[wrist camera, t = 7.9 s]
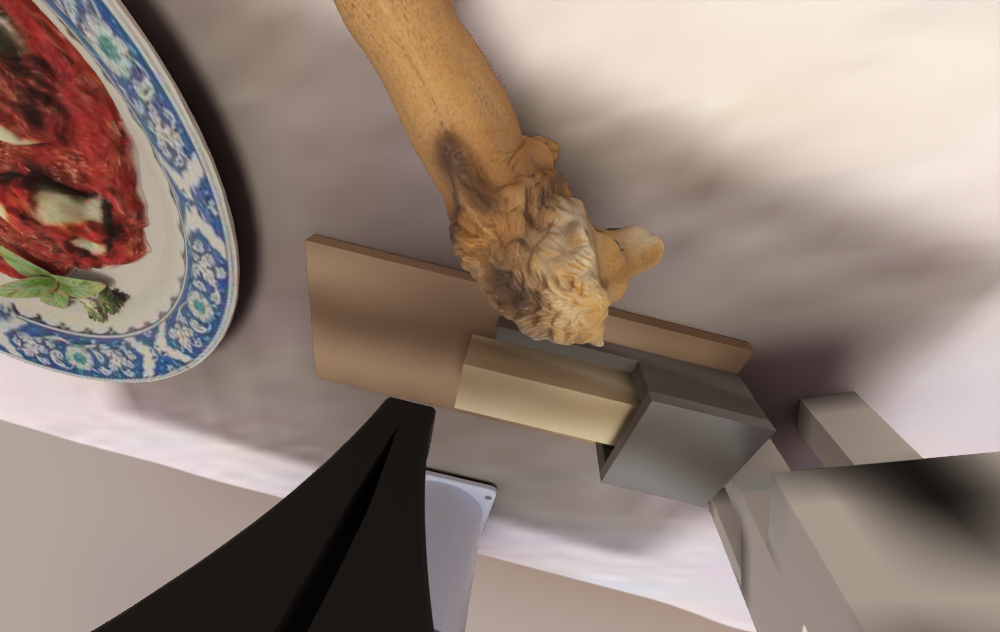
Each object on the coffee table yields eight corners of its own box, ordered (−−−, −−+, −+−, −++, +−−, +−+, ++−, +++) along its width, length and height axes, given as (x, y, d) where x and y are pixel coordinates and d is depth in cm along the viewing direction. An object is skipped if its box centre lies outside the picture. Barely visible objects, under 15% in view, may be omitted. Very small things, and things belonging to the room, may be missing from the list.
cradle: (666, 451, 23) (689, 521, 19) (322, 368, 23) (277, 424, 19) (747, 342, 18) (799, 406, 15) (314, 234, 18) (251, 272, 14)
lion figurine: (633, 211, 16) (714, 321, 8) (532, 274, 18) (521, 408, 10) (397, -205, 10) (-8, -1011, 3) (292, -46, 13) (-102, -263, 5)
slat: (665, 424, 21) (679, 461, 19) (463, 375, 21) (454, 407, 19) (691, 387, 19) (709, 423, 17) (472, 333, 19) (463, 363, 17)
